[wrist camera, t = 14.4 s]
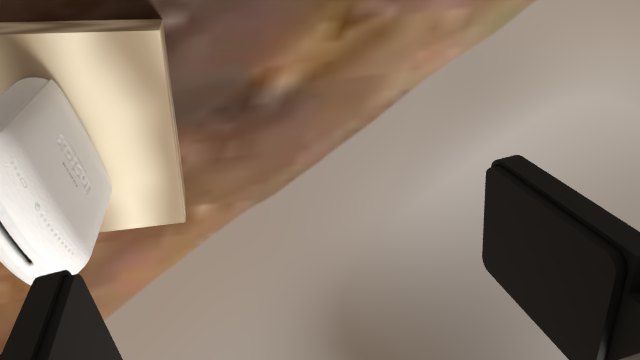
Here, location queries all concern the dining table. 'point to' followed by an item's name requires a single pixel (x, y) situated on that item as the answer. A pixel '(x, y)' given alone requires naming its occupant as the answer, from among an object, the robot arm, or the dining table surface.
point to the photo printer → (47, 182)
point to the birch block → (111, 105)
